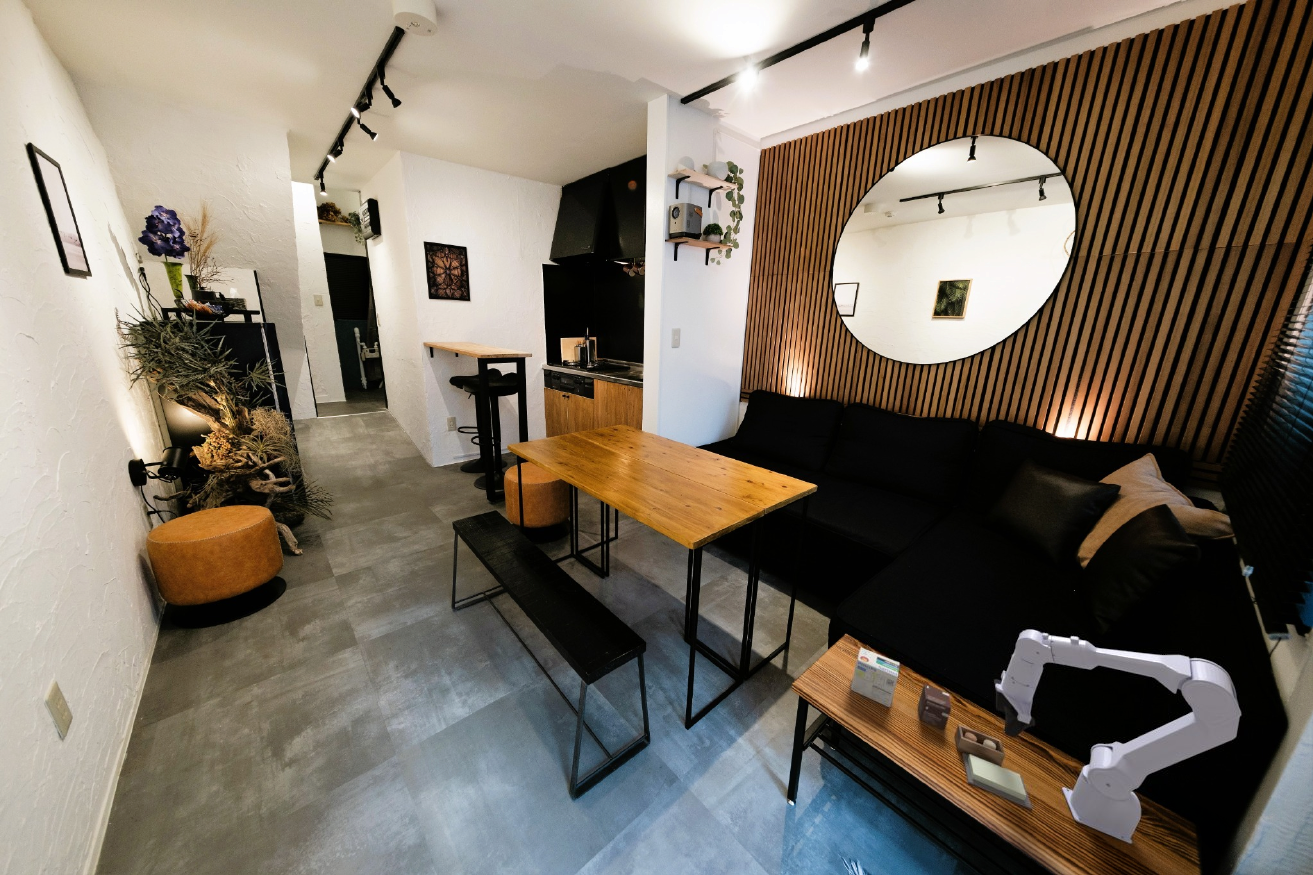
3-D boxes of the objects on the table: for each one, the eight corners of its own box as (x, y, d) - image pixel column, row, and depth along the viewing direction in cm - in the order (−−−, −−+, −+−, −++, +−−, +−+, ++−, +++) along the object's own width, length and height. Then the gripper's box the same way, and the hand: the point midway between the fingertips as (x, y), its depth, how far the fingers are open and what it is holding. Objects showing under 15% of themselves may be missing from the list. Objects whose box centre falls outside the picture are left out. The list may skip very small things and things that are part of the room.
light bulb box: (892, 692, 127) (900, 662, 124) (890, 708, 121) (899, 677, 118) (853, 675, 132) (860, 645, 129) (849, 690, 127) (856, 659, 124)
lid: (1017, 779, 104) (1019, 774, 104) (1024, 800, 99) (1026, 795, 99) (967, 758, 108) (969, 753, 108) (972, 778, 103) (973, 773, 103)
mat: (1021, 777, 105) (1021, 776, 105) (1031, 809, 98) (1032, 808, 98) (962, 754, 110) (962, 752, 109) (968, 782, 103) (968, 781, 102)
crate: (996, 752, 111) (1000, 740, 110) (1000, 767, 107) (1005, 755, 106) (954, 736, 114) (958, 724, 113) (957, 750, 110) (961, 738, 109)
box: (918, 720, 118) (925, 698, 116) (917, 703, 124) (923, 682, 122) (944, 730, 116) (951, 708, 114) (942, 713, 121) (949, 692, 119)
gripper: (993, 651, 112) (979, 694, 116) (1010, 692, 99) (993, 739, 103) (1027, 662, 109) (1011, 705, 113) (1049, 705, 97) (1030, 752, 100)
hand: (1005, 722), depth 108 cm, fingers open, 7 cm apart
